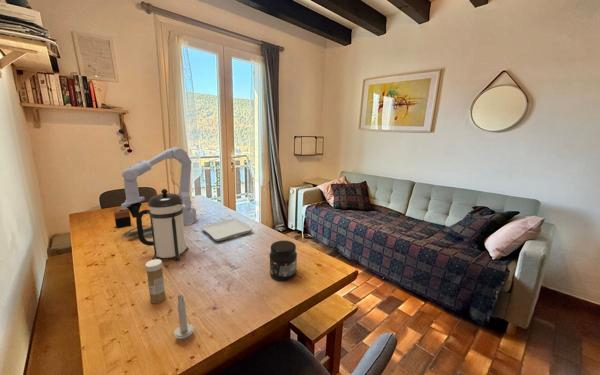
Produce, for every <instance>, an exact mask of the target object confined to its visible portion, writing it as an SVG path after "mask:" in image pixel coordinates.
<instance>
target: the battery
mask: <svg viewBox="0 0 600 375" xmlns="http://www.w3.org/2000/svg"><path fill="white" fill-rule="evenodd" d="M113 215H114V223H115V227H116V228H117V229H122V228H127V226H128V227H131V226H132V221H131V220H132V219H131V212H130V211H129V210H128V208H122V209H115V210H114V211H113Z"/></svg>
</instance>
